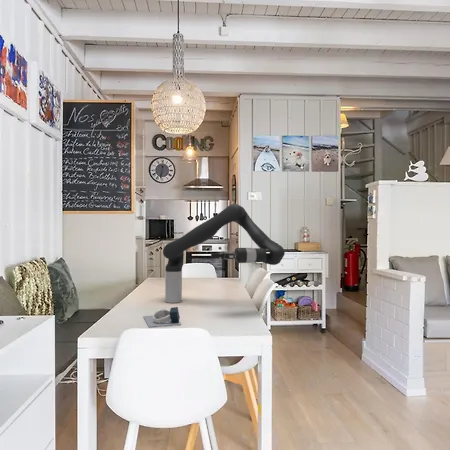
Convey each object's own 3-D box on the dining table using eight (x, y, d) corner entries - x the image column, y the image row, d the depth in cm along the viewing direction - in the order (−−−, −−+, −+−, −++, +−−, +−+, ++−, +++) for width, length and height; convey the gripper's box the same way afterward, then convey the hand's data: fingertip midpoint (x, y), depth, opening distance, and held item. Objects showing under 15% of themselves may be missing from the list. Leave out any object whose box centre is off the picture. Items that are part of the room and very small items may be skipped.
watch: (178, 304, 186) (154, 307, 187) (176, 313, 178) (151, 317, 179) (180, 315, 188) (156, 318, 188) (178, 325, 180) (153, 328, 181)
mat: (143, 316, 194) (143, 316, 194) (172, 315, 198) (172, 314, 198) (148, 327, 175) (148, 326, 175) (181, 325, 179) (181, 324, 179)
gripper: (241, 246, 209) (208, 246, 204) (250, 248, 196) (215, 248, 191) (240, 261, 209) (207, 261, 204) (249, 264, 196) (214, 264, 191)
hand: (211, 255), depth 197 cm, fingers closed
